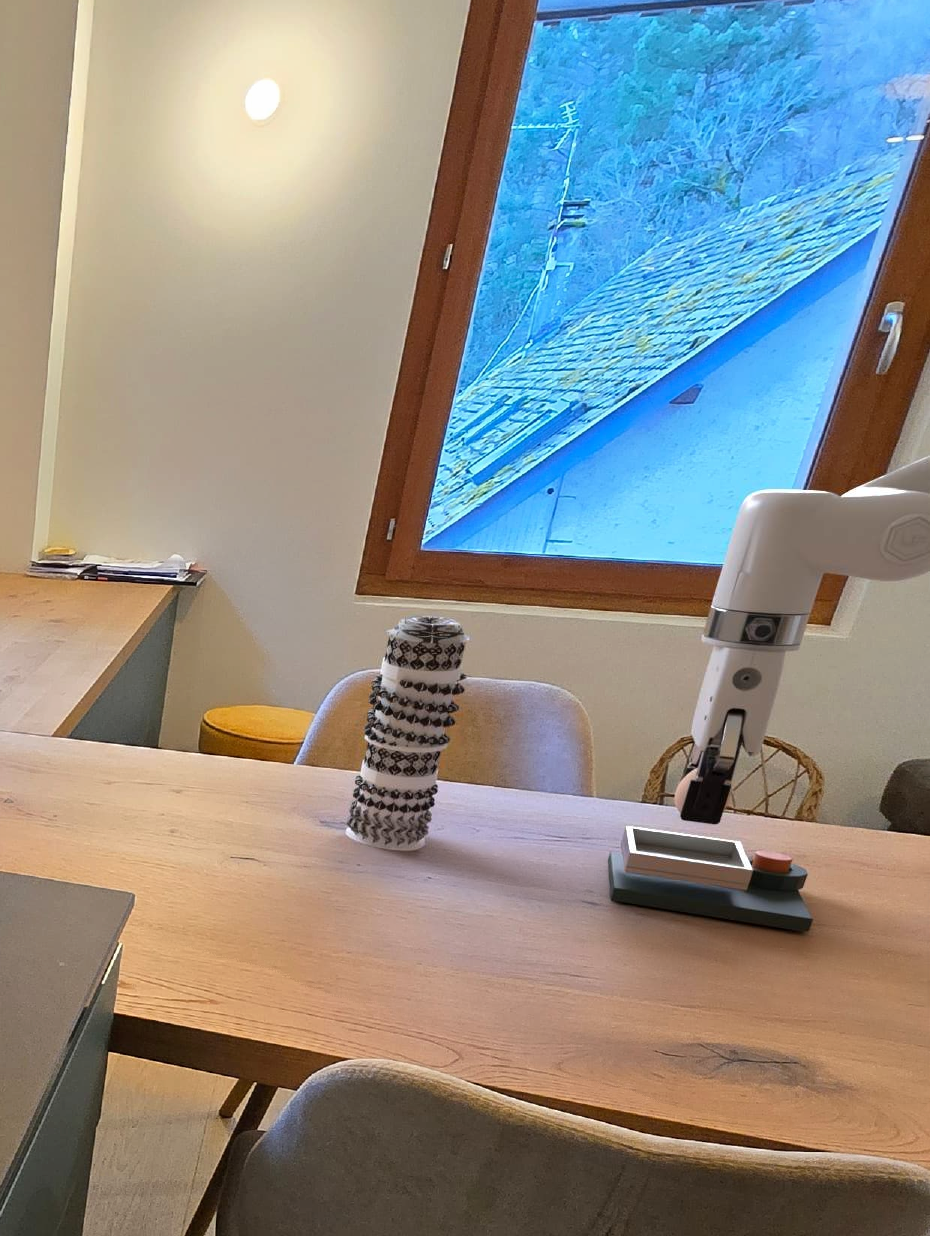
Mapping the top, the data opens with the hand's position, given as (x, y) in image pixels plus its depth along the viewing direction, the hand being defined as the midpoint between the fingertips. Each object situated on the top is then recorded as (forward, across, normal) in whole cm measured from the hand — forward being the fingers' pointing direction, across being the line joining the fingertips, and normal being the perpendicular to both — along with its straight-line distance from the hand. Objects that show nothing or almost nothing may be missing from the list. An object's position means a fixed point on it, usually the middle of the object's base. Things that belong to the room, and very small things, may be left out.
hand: (697, 812), depth 119 cm
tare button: (+6, +5, -8) cm, 11 cm away
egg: (+1, 0, 0) cm, 1 cm away
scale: (+9, +1, -2) cm, 9 cm away
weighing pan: (+6, 0, 0) cm, 6 cm away
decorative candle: (+9, +3, +28) cm, 29 cm away
